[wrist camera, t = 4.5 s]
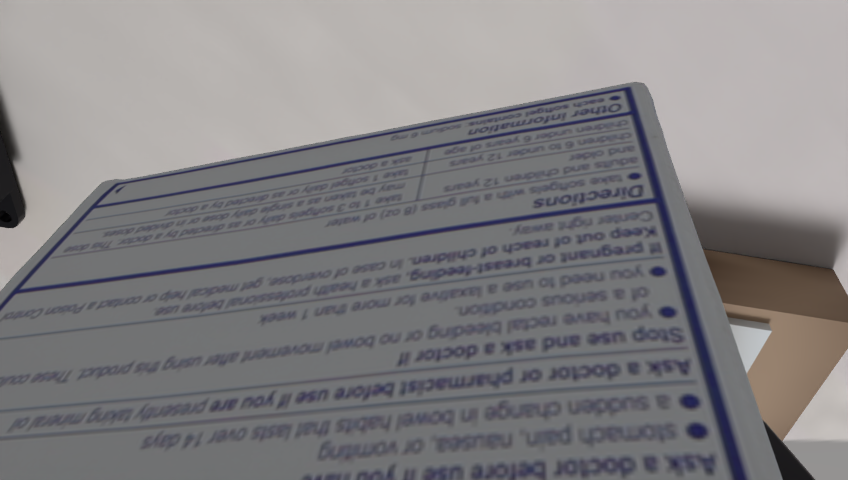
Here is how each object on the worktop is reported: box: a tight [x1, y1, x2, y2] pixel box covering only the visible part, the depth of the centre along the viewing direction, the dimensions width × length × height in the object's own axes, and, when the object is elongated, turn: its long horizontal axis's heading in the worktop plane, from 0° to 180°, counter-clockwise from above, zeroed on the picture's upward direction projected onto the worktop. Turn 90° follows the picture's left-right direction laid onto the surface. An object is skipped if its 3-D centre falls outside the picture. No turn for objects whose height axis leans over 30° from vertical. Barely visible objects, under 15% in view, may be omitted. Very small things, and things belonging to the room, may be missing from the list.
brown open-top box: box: [703, 249, 848, 441], centre depth 24 cm, size 12×12×3 cm
